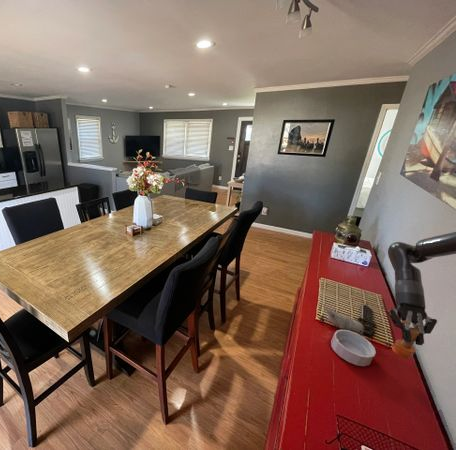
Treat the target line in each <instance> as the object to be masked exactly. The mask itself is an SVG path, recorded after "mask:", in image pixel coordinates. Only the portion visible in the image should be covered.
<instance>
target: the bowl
mask: <svg viewBox="0 0 456 450" xmlns="http://www.w3.org/2000/svg"><path fill="white" fill-rule="evenodd" d="M330 346H331V348H332V350H333V352H335V353H336V354H337V356H339V357H340V358H341V359H342V360H345V361H346V362H348V363H350V364H353V365H355V366H359V367H367V366H370V365H371V363H372V361H373V360H374V358H375V356H376V354H377V352H376V348H375V346H374V345H373V344H372V342H370V341H369V340H368V339H366V337H364V336H362V335H360V334H359V333H358V332H355V331H353V330H346V329H337V330H336V331H335V332H334V334H333V335H332V339H331V340H330Z"/></svg>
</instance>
